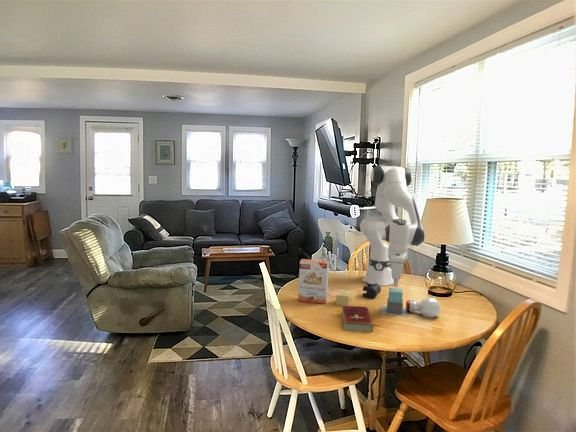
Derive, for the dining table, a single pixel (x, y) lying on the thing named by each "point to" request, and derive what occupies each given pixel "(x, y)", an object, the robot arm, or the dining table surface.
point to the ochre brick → (342, 298)
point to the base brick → (394, 307)
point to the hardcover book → (356, 318)
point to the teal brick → (395, 295)
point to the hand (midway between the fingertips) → (395, 283)
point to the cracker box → (313, 281)
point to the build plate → (404, 313)
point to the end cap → (371, 290)
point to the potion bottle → (424, 307)
